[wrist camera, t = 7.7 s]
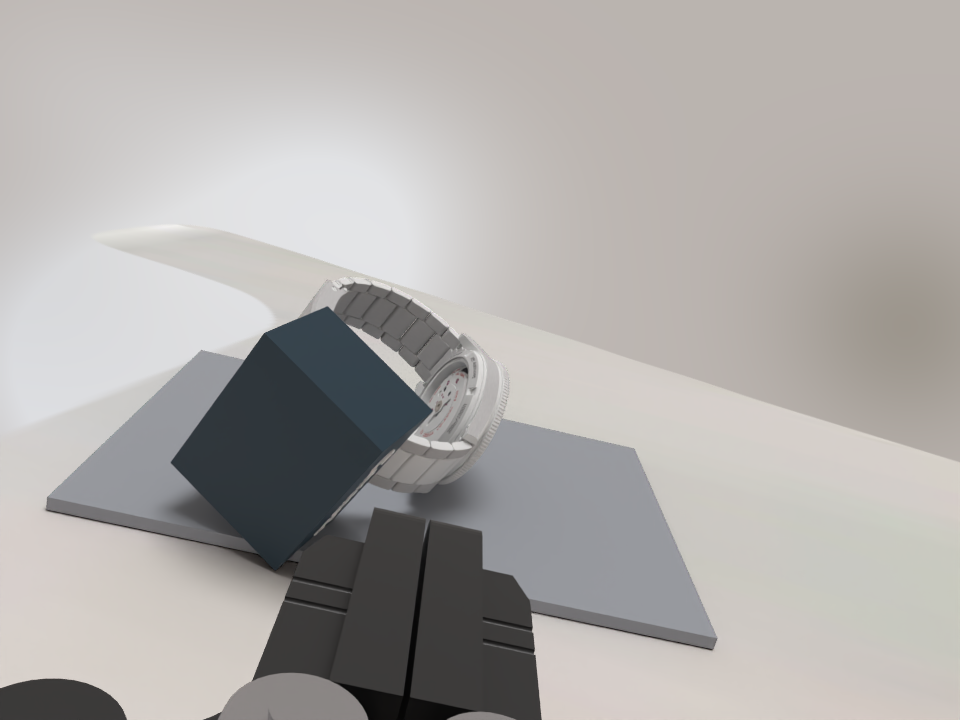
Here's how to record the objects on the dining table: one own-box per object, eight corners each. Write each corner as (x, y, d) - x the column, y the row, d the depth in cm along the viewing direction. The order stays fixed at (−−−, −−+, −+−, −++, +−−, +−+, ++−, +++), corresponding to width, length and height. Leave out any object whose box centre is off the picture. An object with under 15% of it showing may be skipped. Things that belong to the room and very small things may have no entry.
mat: (631, 456, 39) (634, 448, 39) (713, 649, 25) (717, 638, 25) (200, 358, 37) (201, 350, 37) (46, 509, 24) (47, 497, 24)
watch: (437, 507, 21) (558, 377, 31) (217, 285, 22) (404, 226, 31) (321, 622, 24) (467, 468, 33) (126, 421, 24) (326, 327, 34)
